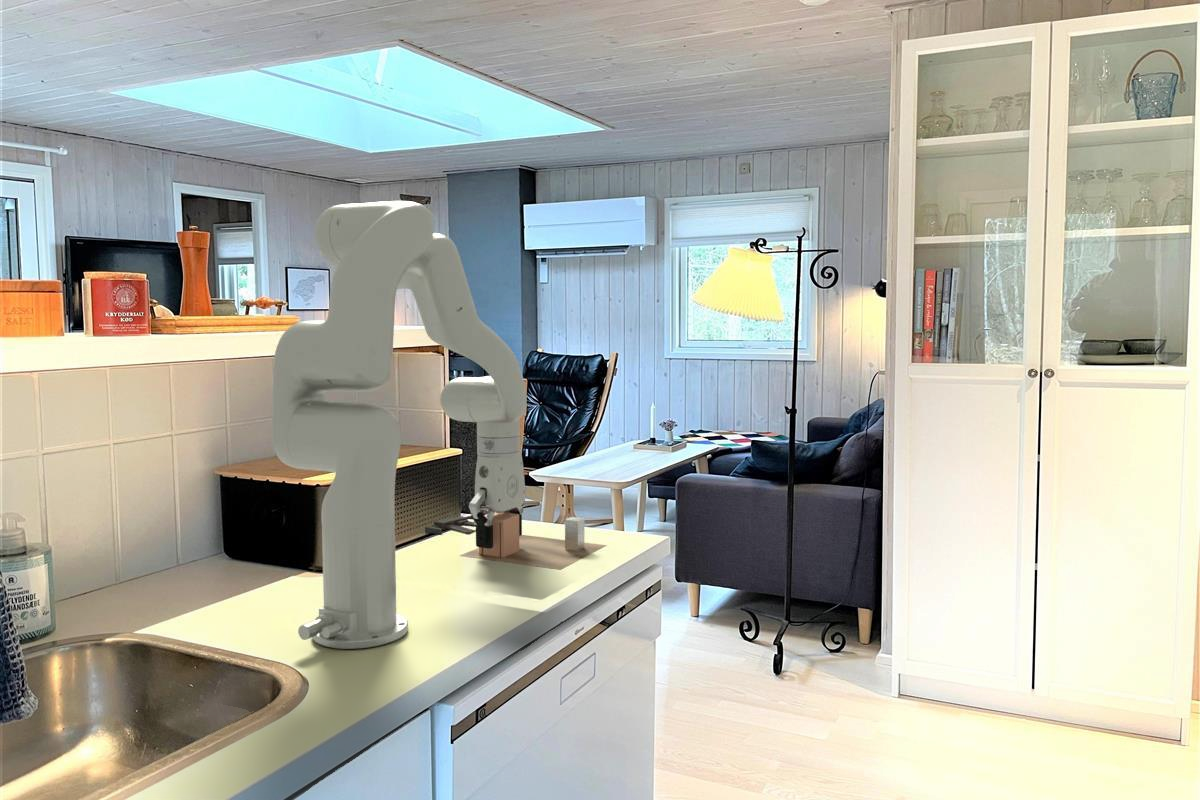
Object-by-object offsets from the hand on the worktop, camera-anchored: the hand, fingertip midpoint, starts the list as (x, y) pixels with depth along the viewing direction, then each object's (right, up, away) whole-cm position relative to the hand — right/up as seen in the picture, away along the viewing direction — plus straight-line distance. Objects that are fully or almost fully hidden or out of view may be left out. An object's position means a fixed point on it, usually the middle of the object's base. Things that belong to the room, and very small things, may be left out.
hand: (499, 541), depth 158 cm
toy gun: (-8, -2, +22) cm, 24 cm away
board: (+6, -3, +2) cm, 7 cm away
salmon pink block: (0, -2, 0) cm, 2 cm away
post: (+13, -3, +3) cm, 14 cm away
